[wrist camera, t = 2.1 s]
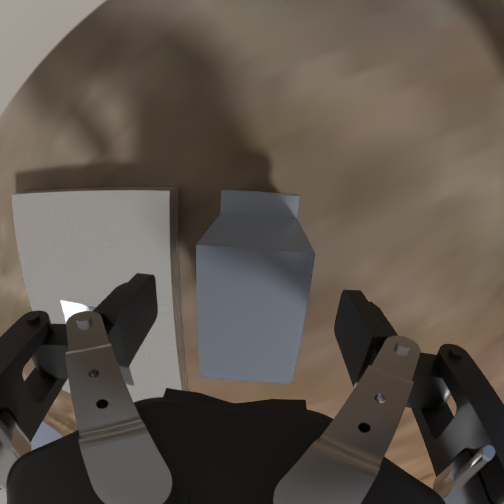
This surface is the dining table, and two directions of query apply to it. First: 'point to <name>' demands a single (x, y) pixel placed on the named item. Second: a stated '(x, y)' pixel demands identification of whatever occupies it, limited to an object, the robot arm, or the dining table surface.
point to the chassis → (107, 265)
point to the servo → (252, 288)
